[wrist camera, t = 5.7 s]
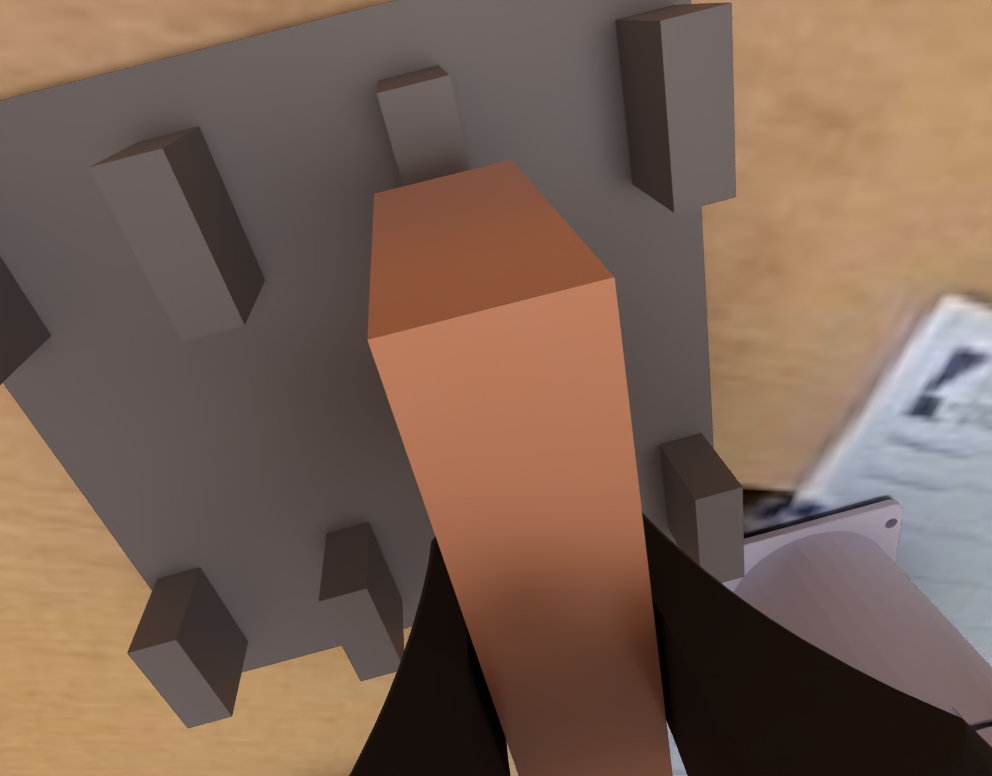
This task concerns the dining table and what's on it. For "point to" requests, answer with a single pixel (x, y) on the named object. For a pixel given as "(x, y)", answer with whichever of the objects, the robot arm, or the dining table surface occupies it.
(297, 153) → the comb rack
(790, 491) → the dining table surface
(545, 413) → the clay strip
